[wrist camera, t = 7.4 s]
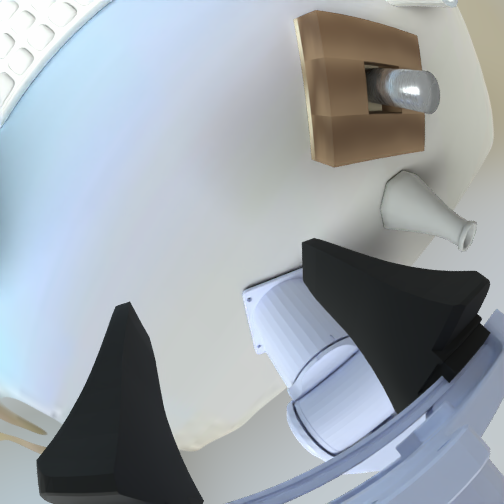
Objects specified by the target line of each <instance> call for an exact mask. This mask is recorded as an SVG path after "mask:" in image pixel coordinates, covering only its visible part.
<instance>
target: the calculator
mask: <svg viewBox="0 0 504 504" xmlns="http://www.w3.org/2000/svg"><path fill="white" fill-rule="evenodd" d="M111 1H112V0H0V58H1V59H0V128H1V126H2V125H3V124H4V123H5V121H6V119H7V118H8V116H9V115H10V113H11V112H12V110H13V109H14V107H15V106H16V104H17V103H18V101H19V100H20V98H21V97H22V95H23V94H24V93H25V91H26V90H27V88H28V87H29V86H30V84H31V83H32V82H33V80H34V79H35V78H36V76H37V75H38V74H39V73H40V71H41V70H42V69H43V68H44V66H45V65H46V64H47V63H48V62H49V61H50V59H51V58H52V57H53V56H54V55H55V54H56V53H57V51H58V50H59V49H60V48H61V47H62V46H63V45H64V44H65V43H66V42H67V41H68V40H69V39H70V38H71V37H72V36H73V35H74V34H75V33H76V32H77V31H78V30H79V29H80V28H81V27H82V26H83V25H84V24H85V23H86V22H87V21H88V20H90V19H91V18H92V17H93V16H94V15H95V14H96V13H98V12H99V11H100V10H101V9H102V8H103V7H105V6H106V5H107V4H108V3H110V2H111ZM73 7H74V8H73ZM76 10H77V11H76ZM29 12H30V13H29ZM50 20H51V21H50ZM47 26H48V27H47ZM12 29H13V30H14V31H13V30H12ZM29 43H30V44H31V45H32V46H31V45H30V44H29ZM2 72H3V73H2ZM18 74H19V75H18Z"/></svg>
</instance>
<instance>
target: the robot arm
mask: <svg viewBox="0 0 504 504" xmlns="http://www.w3.org/2000/svg"><path fill="white" fill-rule="evenodd" d="M302 263H303V268H300V269H298V270H295V271H293V272H290V273H288V274H285V275H283V276H280V277H277V278H275V279H272V280H270V281H267V282H264V283H262V284H259V285H256V286H254V287H251V288H249V289H246V290H245V291H244V292H243V293H242V296H243V300H244V305H245V309H246V313H247V318H248V322H249V326H250V331H251V335H252V339H253V344H254V348H255V351H256V353H257V354H262V353H264V352H266V353H267V355H268V356H269V358H270V360H271V361H272V363H273V365H274V366H275V368H276V370H277V371H278V373H279V375H280V376H281V378H282V379H283V381H284V383H285V384H286V386H287V387H288V390H287V391H288V393H289V395H290V396H291V398H292V401H291V402H289V403H288V405H287V421H288V424H289V426H290V429H291V430H292V432H293V434H294V435H295V437H296V438H297V440H298V441H299V442H300V443H301V445H302V446H303V447H304V448H305V449H306V450H307V451H308V452H310V453H311V454H313V455H314V456H316V457H318V458H320V459H322V460H323V461H325V462H324V463H323V464H321V465H319V466H317V467H315V468H313V469H311V470H309V471H307V472H305V473H303V474H301V475H299V476H297V477H294V478H292V479H290V480H288V481H286V482H283V483H281V484H279V485H276V486H274V487H271V488H269V489H266V490H264V491H261V492H258V493H256V494H253V495H250V496H247V497H244V498H241V499H238V500H235V501H231V502H228V503H225V504H284V503H286V502H288V501H291V500H293V499H295V498H297V497H300V496H302V495H304V494H306V493H308V492H310V491H312V490H314V489H316V488H318V487H320V486H322V485H324V484H326V483H327V482H330V481H331V480H333V479H335V478H337V477H339V476H340V475H342V474H356V473H365V472H372V471H380V472H378V473H377V474H376V475H374V476H373V477H371V478H370V479H368V480H366V481H365V482H363V483H362V484H360V485H358V486H357V487H355V488H354V489H352V490H350V491H348V492H347V493H345V494H343V495H342V496H340V497H338V498H336V499H334V500H332V501H331V502H329V503H327V504H504V476H503V475H502V474H501V473H500V471H499V470H498V469H497V468H496V467H495V465H494V464H493V463H492V462H491V461H490V459H489V456H490V448H489V447H488V445H487V444H486V443H485V442H484V441H483V440H482V439H481V437H482V435H483V433H484V432H485V430H486V429H487V427H488V425H489V424H490V422H491V420H492V418H493V416H494V415H495V413H496V411H497V409H498V408H499V405H500V404H501V402H502V400H503V398H504V314H503V313H501V312H500V311H499V310H498V309H496V310H495V311H494V313H493V314H492V315H491V317H490V318H489V319H488V321H487V322H486V324H485V325H484V326H483V325H481V324H480V322H481V320H482V318H481V317H480V316H479V315H478V314H477V313H478V311H479V309H480V307H481V305H482V303H483V301H484V299H485V297H486V295H487V292H488V290H489V287H490V281H489V280H488V279H487V278H486V277H484V276H483V275H481V274H480V273H478V272H477V271H440V270H429V269H422V268H415V267H410V266H405V265H400V264H396V263H391V262H387V261H384V260H380V259H377V258H374V257H370V256H367V255H364V254H361V253H358V252H355V251H352V250H349V249H346V248H344V247H341V246H338V245H335V244H332V243H329V242H326V241H323V240H320V239H316V238H313V239H310V240H307V241H305V242H302ZM249 297H251V298H250V299H248V298H249ZM37 474H38V485H39V493H40V496H41V497H42V498H43V499H44V500H46V501H48V502H50V503H53V504H203V502H204V500H203V499H202V497H201V495H200V493H199V491H198V490H197V488H196V486H195V484H194V482H193V480H192V478H191V476H190V474H189V472H188V470H187V468H186V466H185V464H184V462H183V459H182V457H181V455H180V452H179V450H178V447H177V445H176V442H175V440H174V437H173V434H172V432H171V429H170V426H169V423H168V420H167V417H166V414H165V410H164V405H163V400H162V395H161V390H160V384H159V379H158V373H157V367H156V361H155V357H154V353H153V349H152V345H151V342H150V338H149V336H148V334H147V332H146V330H145V329H144V327H143V325H142V323H141V321H140V320H139V318H138V316H137V314H136V312H135V310H134V308H133V307H132V305H131V303H130V302H127V303H124V304H121V305H118V306H116V307H115V309H114V312H113V315H112V317H111V320H110V323H109V326H108V329H107V331H106V334H105V337H104V340H103V342H102V345H101V348H100V351H99V353H98V356H97V358H96V361H95V363H94V366H93V368H92V371H91V373H90V375H89V377H88V380H87V382H86V384H85V386H84V388H83V390H82V392H81V394H80V396H79V398H78V399H77V401H76V403H75V405H74V407H73V408H72V410H71V412H70V414H69V416H68V417H67V419H66V420H65V422H64V424H63V425H62V427H61V428H60V430H59V431H58V433H57V434H56V436H55V437H54V439H53V440H52V441H51V443H50V444H49V445H48V446H47V448H46V449H45V450H44V451H43V453H42V454H41V455H40V457H39V458H38V459H37Z"/></svg>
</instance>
